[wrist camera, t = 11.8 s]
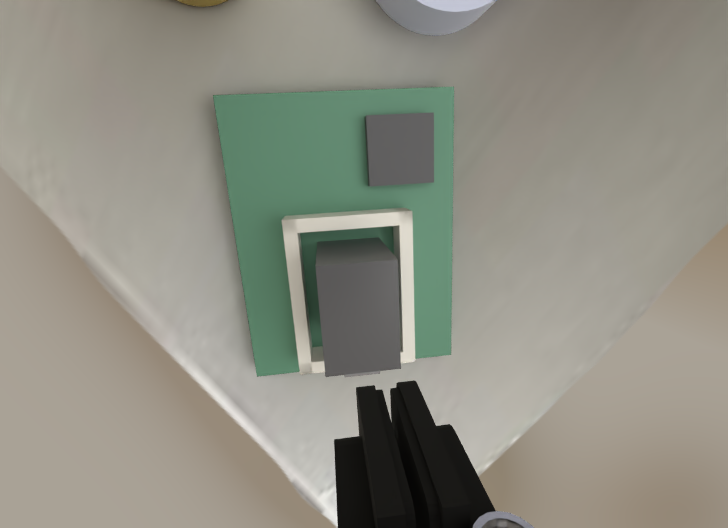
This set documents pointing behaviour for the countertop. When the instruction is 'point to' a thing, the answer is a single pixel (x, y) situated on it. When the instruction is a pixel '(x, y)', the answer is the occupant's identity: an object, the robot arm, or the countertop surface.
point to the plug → (358, 306)
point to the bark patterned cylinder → (202, 2)
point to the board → (339, 208)
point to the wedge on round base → (435, 14)
